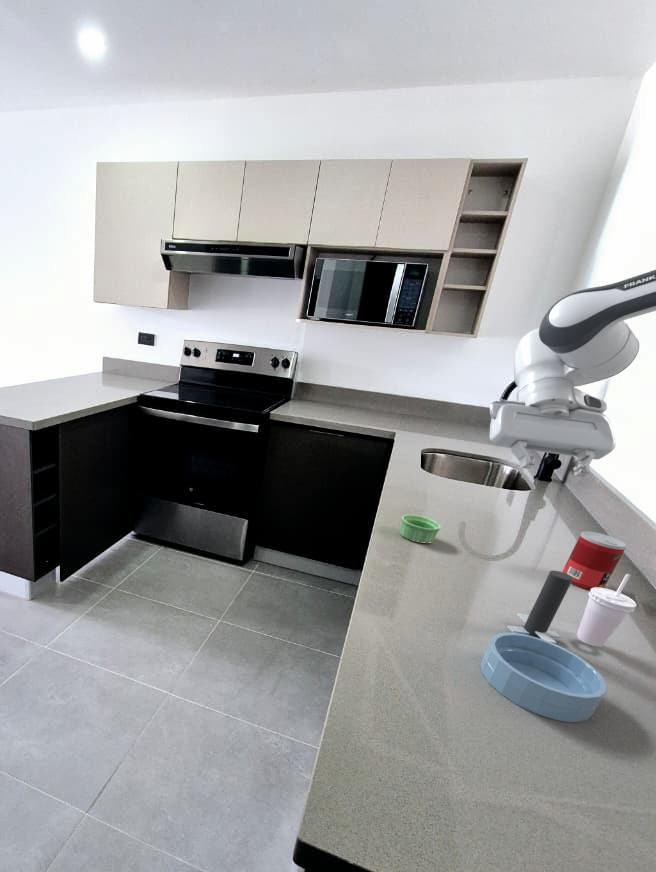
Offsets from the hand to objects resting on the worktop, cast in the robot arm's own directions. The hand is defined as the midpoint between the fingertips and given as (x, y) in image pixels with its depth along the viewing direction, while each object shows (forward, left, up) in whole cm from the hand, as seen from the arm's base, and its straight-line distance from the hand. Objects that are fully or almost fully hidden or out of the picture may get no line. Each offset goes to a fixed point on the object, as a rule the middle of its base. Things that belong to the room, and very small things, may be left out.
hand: (554, 471), depth 88 cm
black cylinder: (-4, +12, -27) cm, 30 cm away
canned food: (-21, -23, -28) cm, 41 cm away
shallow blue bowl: (-1, +28, -27) cm, 39 cm away
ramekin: (+14, -26, -28) cm, 41 cm away
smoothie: (-14, +7, -28) cm, 32 cm away
